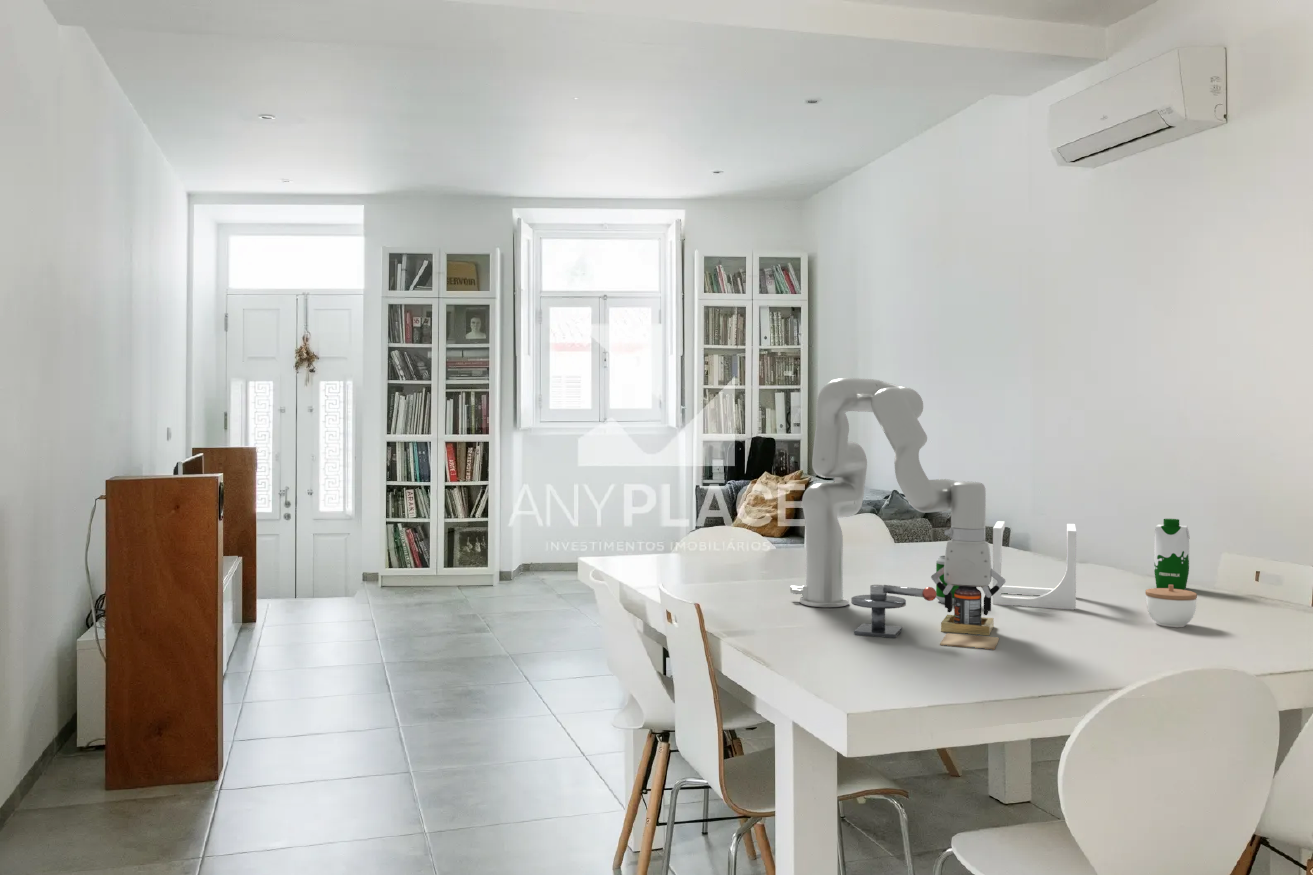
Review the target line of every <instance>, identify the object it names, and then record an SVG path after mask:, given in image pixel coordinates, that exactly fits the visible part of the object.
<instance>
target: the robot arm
mask: <svg viewBox="0 0 1313 875" xmlns="http://www.w3.org/2000/svg"><path fill="white" fill-rule="evenodd" d="M923 411H924V401H923V399H922V396H921V395H920V394H919V392H918V391H917V390H916V389H915V390H914V389H913V388H910V387H907V386H904V385H903V386H902V385H898V384H894V383H890V382H887V381H884V380H880V379H874V378H873V379H872V378H859V377H858V378H857V377H841V378H840V377H839V378H835V379H832V380H831V381H829V382H827V383H826V384H824V385H823V387H822V388H821V389H820V392H819V393H818V396H817V399H816V422H815V423H816V424H815V433H814V439H813V441H814V442H813V451H812V460H811V462H812V463H811V464H812V466H811V467H812V470H813V472H814V473H815V474H816V475H817V476H818V477H820V478H824V479H825V478H826V479H834V482H833V481H829V482H817V483H815V484H812V485H810V486H808V487H807V488H806V490H805V491H804V493H803V495H802V500H801V501H802V502H801V503H802V504H801V505H802V511H803V516H804V522H805V523H804V525H805V585H802V586H798V585H790V589H789V590H790V593H791V594H792V595H801V596H802V597H800V598H799V603H800V604H802V605H804V606H809V607H815V608H840V607H845V606H848V605H849V604H850V603H849V602H850V600H849V598H847V597H845V596H843V595H844V592H843V591H844V590H843V589H844V587H843V586H844V585H843V583H844V581H843V580H844V577H843V575H844V573H843V572H844V570H843V569H844V563H843V562H844V560H843V559H844V538H843V536H844V535H843V530H842V527H841V525H840V522H839V518H840V519H842V518H849V517H853V516H854V515H857V513H859V511H860V510H861V508H862V505H863V501H864V494H865V487H866V485H865V484H866V480H867V479H866V478H867V467H868V461H867V455H866V452H865V450H864V448H863V447H862V446H861V445H860V444H859V443H856V442H855V441H849V433H850V424H849V419H848V416H847V415H846V413H847V412H867V413H873V414H874V416H875V418H876V421H877V423H878V425H880V427H881V428H880V429H882V431H883V433H884V435H885V436H886V439H887V440H888V442H889V444H890V446H891V448H892V449H893V452H894V473H895V474H894V475H895V478H896V481H897V483H898V486H899V488H900V490H901V491H902V493H903V496H904V497H905V498H906V501H907V502H908V503H909V504H910V505H911V507H912V508H913V509H914V510H916V511H918V512H919V513H924V514H925V513H936V512H939V513H940V512H947V511H948V512H950V528H949V529H944V533H943V534H944V536H948V537H949V538H950V540H947V542H946V547H945V554H944V556H945V565H944V567H943V568H942V569H940V570H939V571H937V572H934V573H933V574H932V575H931V576H930V578H931V580H932V581H933V582H934V584H935V585H937V587H938V588H939V589H940V590H941V591H942V592H943V593H944V594H945V603H944V609H947V610H946V611H947V613H951V612H952V611H953V604H952V593H951V589H952V587H953V586H954V585H957V586H972V587H976V588H981V590H982V591H983V593H984V597H983V615H984V616H988V614H989V612H991V611H992V597H993V595H994V594H995V593H996V592H997V591H998V590H999V589H1000V588H1001V587H1002V586H1004V585H1005V583H1006V580H1007V579H1005V578H1004V577H1003V576H1002V575H1001V576H1000V575H999V574H998V573H997V572H995V571H994V570H993V567H992V558H991V550H990V545H989V542H988V541H986V509H987V508H986V502H987V501H986V500H987V499H986V495H987V494H986V492H987V490H986V486H985V484H984V483H982V482H979V481H958V480H954V479H947V478H945V479H943V478H941V479H939V478H938V479H929V477H928V476H927V474H926V473H925V471H924V469H923V466H922V465H921V462H920V454H919V453H920V450H921V449H922V448H923V447H924V446H925V445H926V443H927V441H928V435H927V433H926V431H925V430H924V428H923V426H922V425H921V423H920V421H919V420H918V419H919V418H920V417H921V416H922V414H923ZM943 574H944V581H945V583H947V586H945V584H944V583H943V582H941V580H940V579H939V577H940V576H941V575H943ZM993 578H994V579H996V580H997V584H996V585H995V586H994V587H993V586H992V588H990V587H991V586H990V585H991V582H992V579H993Z"/></svg>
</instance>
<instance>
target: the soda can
mask: <svg viewBox="0 0 1313 875" xmlns="http://www.w3.org/2000/svg"><path fill="white" fill-rule="evenodd" d="M935 564H936V565H935V566H936V568H935V569H936V570H935V571H936V572H937V571H939V570H940V569H942V568H943V567H944V565H945V555H940V556H939V557H938V558H937V559H936V562H935ZM936 572H935V573H936ZM939 579H940V580H941V582H943V583H944V584H945V586H947V583H945V581H944V574H943V575H941V576H940V577H939ZM935 585H936V584H935ZM958 587H959V586H957V585H954V586H953V587H952V589H951V593H952V605H954V593H955V590H956V589H958ZM935 591H936V593H937V595H936V598H935V599H937V600H938V601H940V602H941V604H945V594H944V593H943V592H942V591H941V590H940V589H939V588H938V587H937V585H936V586H935ZM940 602H939V603H940Z"/></svg>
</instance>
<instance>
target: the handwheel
mask: <svg viewBox="0 0 1313 875" xmlns="http://www.w3.org/2000/svg"><path fill="white" fill-rule="evenodd" d="M887 594H889V595H887ZM890 594H892V595H890ZM895 595H899V596H895ZM900 595H901V596H908V597H916V598H917V597H918V598H923V599H924V600H925V601H929V602H931V601H934V600H935V599H937V598H936V595H937V593H936V588H933V587H932V586H927V587H925V588H917V587H907V586H898V585H889V584H871V585H870V592H869V594H860V595H854V596H852V597H851V598H850V599H851V600H850V601H851V604H852V605H853V606H857V607H862V608H869V609H872V608H878V609H885V610H886V609H887V610H888V609H899V608H900V609H901V608H904V607H906V606H907V600H906V599H905V598H903V597H900Z"/></svg>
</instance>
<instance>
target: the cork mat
mask: <svg viewBox="0 0 1313 875" xmlns="http://www.w3.org/2000/svg"><path fill="white" fill-rule="evenodd" d="M999 641H1000V638H999V637H998V636H997V637H996V636H987V635H975V634H963V633H951V632H946V634H945V635H944V637H943V638H942V639H941V641H940V643H939V646H944V645H947V646H946V647H955V646H956V647H957V648H967V647H975V648H974V649H978V648H985V649H984V650H989V649H992V650H993V651H995V649H996V647H997V645H998V642H999Z"/></svg>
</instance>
